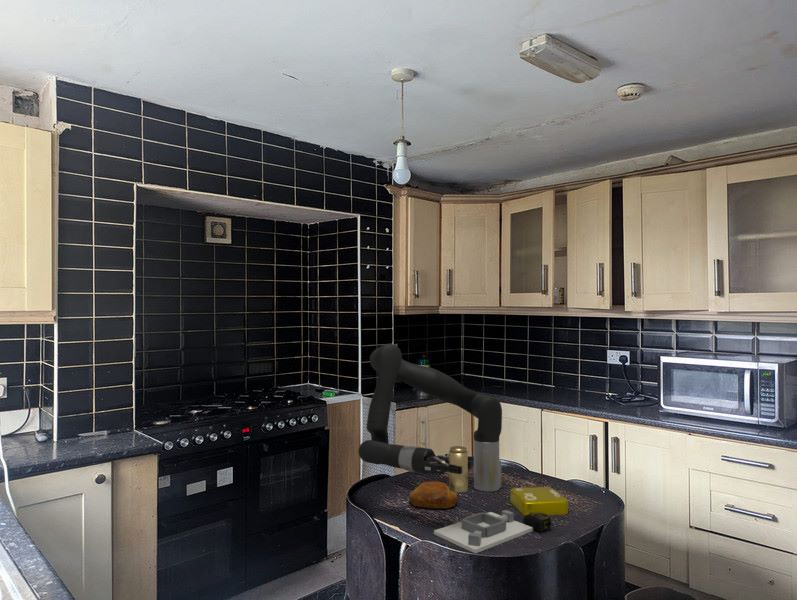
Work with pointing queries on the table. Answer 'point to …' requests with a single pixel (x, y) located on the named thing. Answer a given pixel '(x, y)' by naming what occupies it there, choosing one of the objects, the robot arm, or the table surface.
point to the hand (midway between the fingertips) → (466, 467)
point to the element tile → (538, 500)
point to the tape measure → (538, 521)
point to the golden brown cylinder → (460, 458)
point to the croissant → (433, 496)
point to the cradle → (483, 530)
